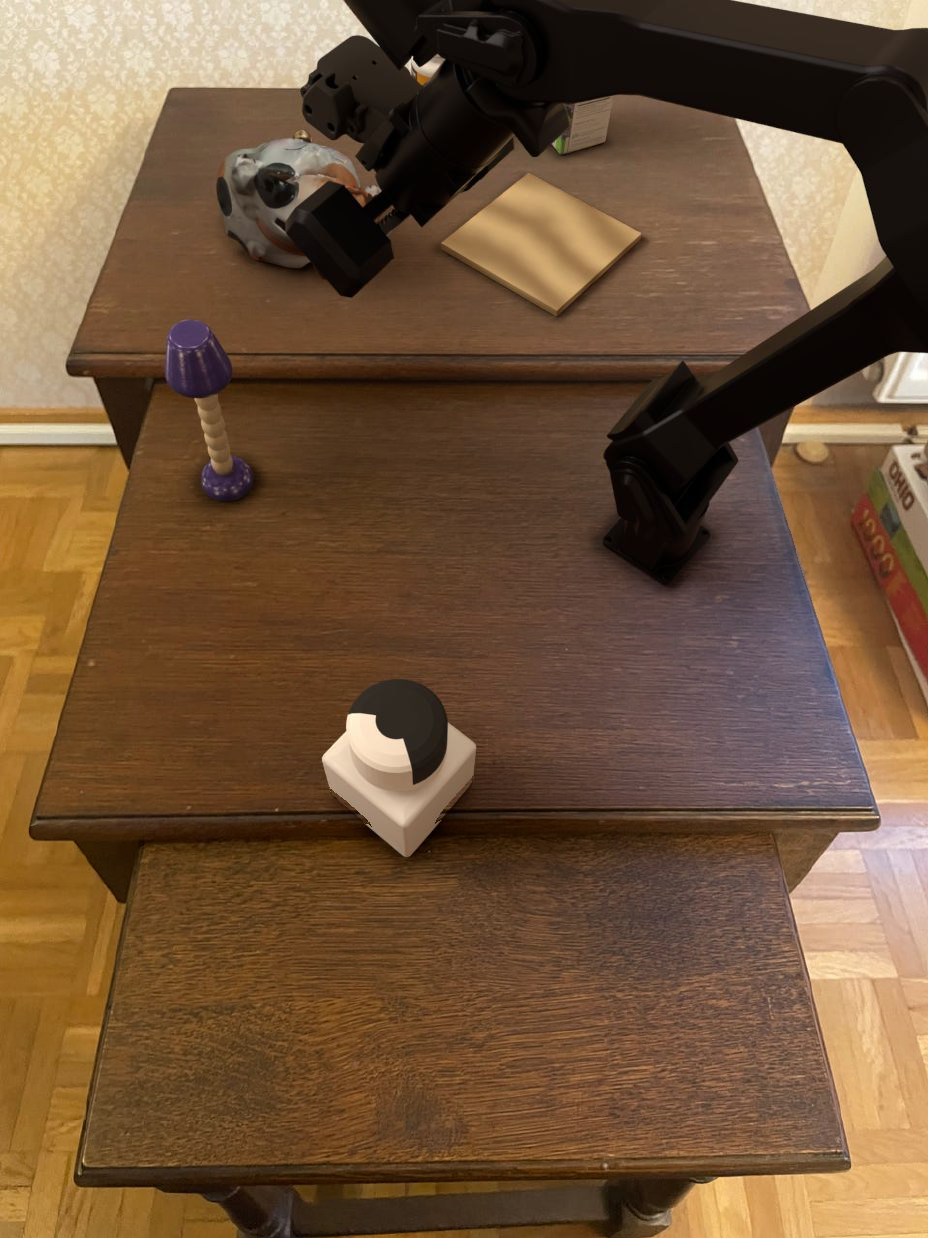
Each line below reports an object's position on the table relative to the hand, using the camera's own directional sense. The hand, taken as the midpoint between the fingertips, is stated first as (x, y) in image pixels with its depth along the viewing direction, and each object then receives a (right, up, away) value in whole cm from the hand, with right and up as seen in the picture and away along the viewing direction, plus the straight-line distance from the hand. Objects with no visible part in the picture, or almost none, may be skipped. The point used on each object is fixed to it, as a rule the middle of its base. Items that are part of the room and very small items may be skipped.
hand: (358, 238), depth 73 cm
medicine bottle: (+4, -40, -5) cm, 41 cm away
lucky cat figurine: (-7, +9, +22) cm, 25 cm away
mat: (+16, +8, +22) cm, 28 cm away
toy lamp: (-11, -18, +7) cm, 22 cm away
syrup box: (+19, +23, +31) cm, 43 cm away
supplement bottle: (+5, +23, +31) cm, 39 cm away
